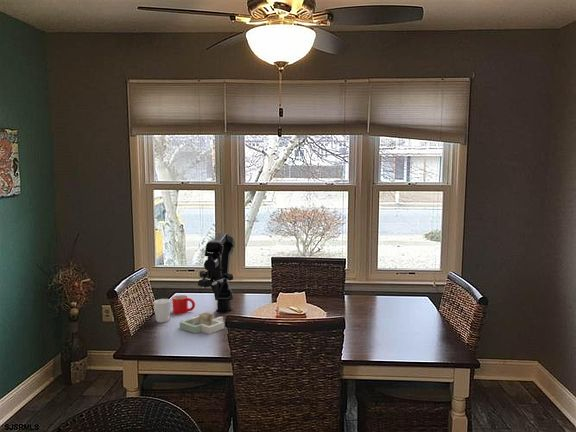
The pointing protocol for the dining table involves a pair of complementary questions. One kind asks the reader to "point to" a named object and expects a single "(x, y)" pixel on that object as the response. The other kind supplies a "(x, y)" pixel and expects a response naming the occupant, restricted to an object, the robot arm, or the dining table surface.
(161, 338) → the dining table surface
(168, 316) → the white cup
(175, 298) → the mug
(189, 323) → the angular open frame
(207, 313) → the block
